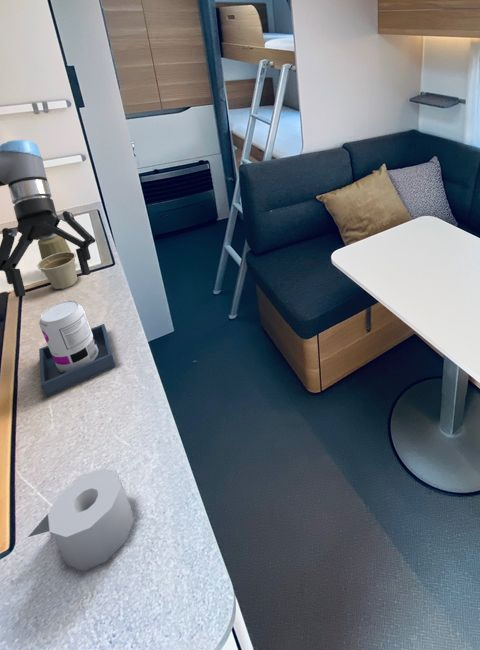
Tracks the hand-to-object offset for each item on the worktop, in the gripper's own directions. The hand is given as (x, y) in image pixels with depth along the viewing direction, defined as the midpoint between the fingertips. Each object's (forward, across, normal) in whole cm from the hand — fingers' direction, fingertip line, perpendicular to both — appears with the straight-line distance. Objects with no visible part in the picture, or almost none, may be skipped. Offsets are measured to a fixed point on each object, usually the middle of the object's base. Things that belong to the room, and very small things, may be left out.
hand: (54, 285), depth 97 cm
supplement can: (+19, 0, -3) cm, 19 cm away
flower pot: (-4, +11, -35) cm, 37 cm away
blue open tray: (+19, 0, -4) cm, 20 cm away
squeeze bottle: (-10, +14, -43) cm, 46 cm away
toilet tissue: (+44, -9, +30) cm, 54 cm away
